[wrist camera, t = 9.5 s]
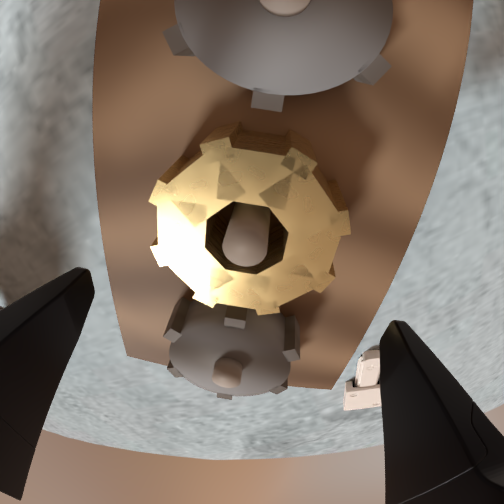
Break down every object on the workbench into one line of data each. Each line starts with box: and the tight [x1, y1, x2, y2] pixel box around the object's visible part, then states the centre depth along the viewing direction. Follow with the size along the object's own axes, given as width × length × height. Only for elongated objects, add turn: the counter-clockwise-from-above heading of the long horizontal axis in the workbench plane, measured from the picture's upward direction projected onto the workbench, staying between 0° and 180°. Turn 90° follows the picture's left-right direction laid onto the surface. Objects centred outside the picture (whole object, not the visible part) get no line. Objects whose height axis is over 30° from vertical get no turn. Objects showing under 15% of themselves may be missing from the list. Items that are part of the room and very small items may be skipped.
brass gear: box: [148, 121, 351, 315], centre depth 13 cm, size 8×8×3 cm
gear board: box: [93, 0, 473, 400], centre depth 13 cm, size 28×16×6 cm, turn 172°
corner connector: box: [343, 350, 381, 411], centre depth 24 cm, size 8×8×2 cm
